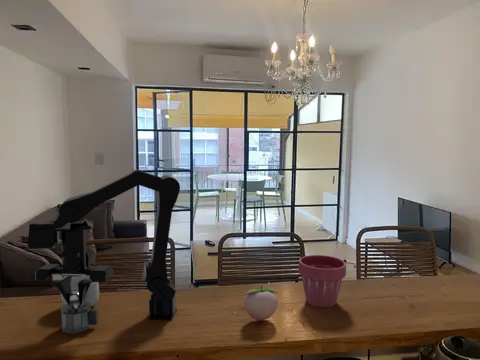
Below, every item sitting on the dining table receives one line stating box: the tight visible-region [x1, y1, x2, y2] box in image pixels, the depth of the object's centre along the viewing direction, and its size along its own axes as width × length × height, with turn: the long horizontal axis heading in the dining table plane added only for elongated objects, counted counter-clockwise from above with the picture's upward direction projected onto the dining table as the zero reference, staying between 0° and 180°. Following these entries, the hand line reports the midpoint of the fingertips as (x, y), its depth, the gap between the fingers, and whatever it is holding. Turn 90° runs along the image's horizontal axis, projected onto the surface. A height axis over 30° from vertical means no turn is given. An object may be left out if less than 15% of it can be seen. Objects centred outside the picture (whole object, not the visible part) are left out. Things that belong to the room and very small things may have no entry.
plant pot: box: [298, 254, 347, 308], centre depth 122 cm, size 14×14×13 cm
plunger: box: [69, 291, 80, 309], centre depth 105 cm, size 5×5×8 cm
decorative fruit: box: [243, 285, 279, 322], centre depth 108 cm, size 9×8×10 cm
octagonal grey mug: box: [59, 302, 99, 334], centre depth 105 cm, size 9×7×6 cm
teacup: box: [59, 276, 100, 307], centre depth 120 cm, size 14×11×8 cm
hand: (76, 304), depth 105 cm, fingers closed on plunger, 3 cm apart
